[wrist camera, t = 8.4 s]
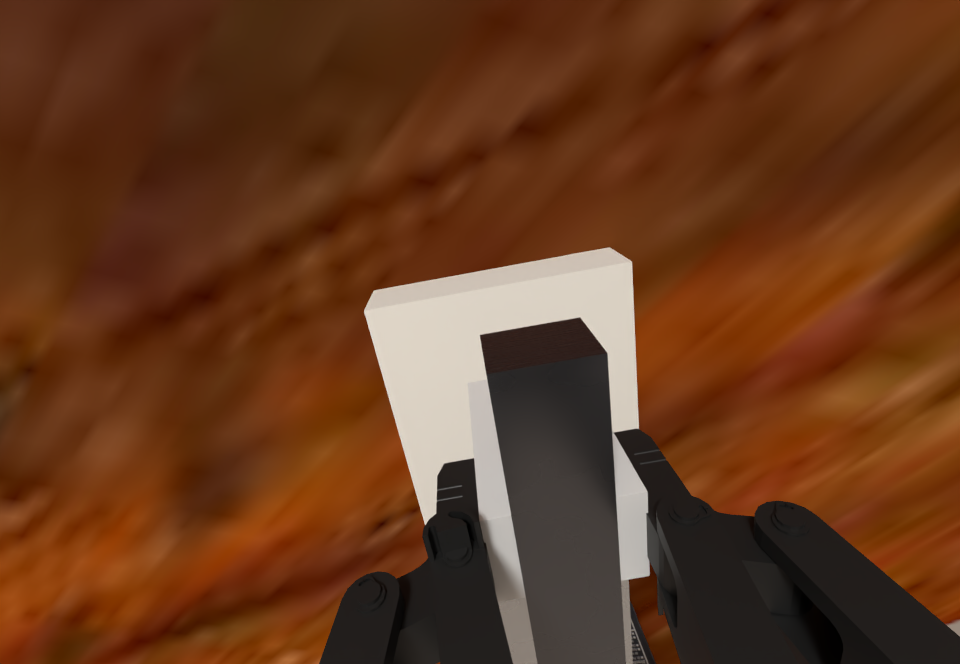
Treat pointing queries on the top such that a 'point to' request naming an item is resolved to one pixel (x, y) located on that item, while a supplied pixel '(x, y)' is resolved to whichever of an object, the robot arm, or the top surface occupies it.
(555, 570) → the dark gray bar
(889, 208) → the top surface
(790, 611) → the robot arm
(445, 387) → the board
